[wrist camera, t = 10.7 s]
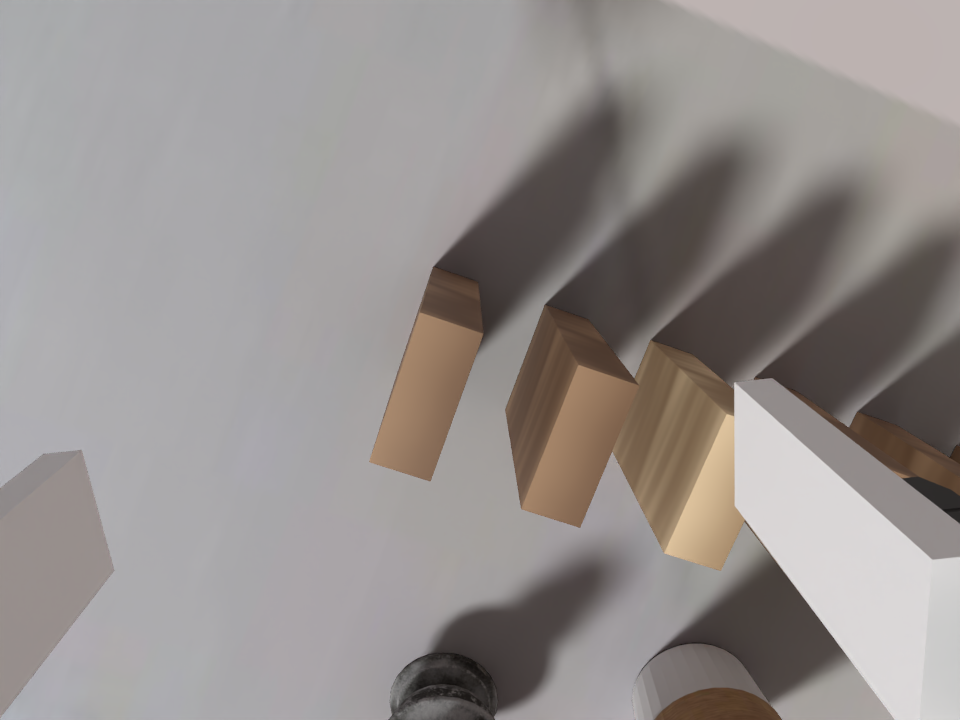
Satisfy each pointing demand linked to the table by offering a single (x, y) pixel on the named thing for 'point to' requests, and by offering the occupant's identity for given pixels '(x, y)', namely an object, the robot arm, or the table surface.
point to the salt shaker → (443, 690)
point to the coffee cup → (698, 687)
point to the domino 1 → (431, 376)
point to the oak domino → (682, 455)
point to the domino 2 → (566, 415)
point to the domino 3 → (909, 451)
